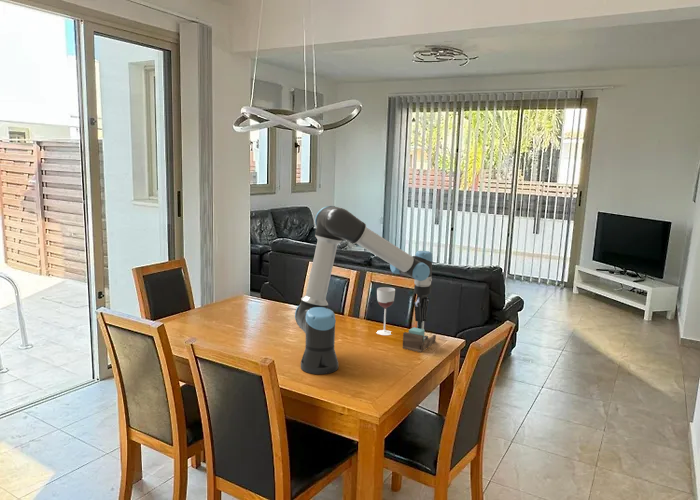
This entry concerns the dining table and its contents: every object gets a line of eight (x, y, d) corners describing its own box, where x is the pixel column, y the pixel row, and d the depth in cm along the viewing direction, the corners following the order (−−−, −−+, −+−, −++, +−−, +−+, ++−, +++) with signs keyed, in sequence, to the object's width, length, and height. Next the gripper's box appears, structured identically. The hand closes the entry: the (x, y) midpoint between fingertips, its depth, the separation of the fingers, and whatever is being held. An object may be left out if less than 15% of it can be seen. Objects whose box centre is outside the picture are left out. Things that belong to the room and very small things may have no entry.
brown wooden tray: (420, 352, 226) (421, 336, 225) (402, 348, 231) (403, 333, 230) (435, 342, 241) (436, 327, 240) (418, 338, 245) (418, 324, 244)
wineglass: (372, 333, 251) (373, 289, 248) (380, 328, 259) (382, 286, 256) (388, 336, 247) (390, 292, 244) (396, 331, 255) (398, 288, 252)
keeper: (419, 347, 229) (420, 332, 228) (408, 344, 232) (408, 329, 231) (423, 344, 233) (424, 329, 232) (412, 341, 236) (413, 327, 235)
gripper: (424, 288, 224) (421, 340, 228) (435, 283, 235) (433, 332, 239) (409, 286, 228) (406, 337, 232) (420, 281, 239) (418, 329, 243)
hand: (420, 334), depth 235 cm, fingers closed
